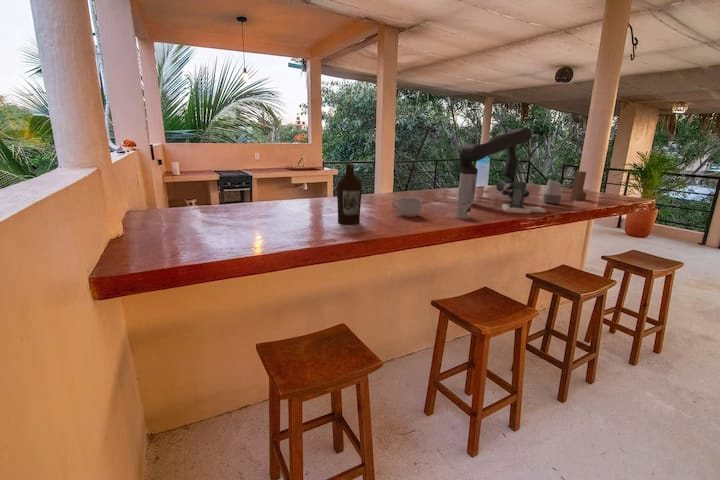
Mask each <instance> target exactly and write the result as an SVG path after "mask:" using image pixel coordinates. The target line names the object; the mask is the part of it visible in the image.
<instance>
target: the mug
mask: <svg viewBox="0 0 720 480" xmlns="http://www.w3.org/2000/svg"><path fill="white" fill-rule="evenodd" d="M471 210H472V205H471V204H469V203H457V202H456V209H455V219H461V220H470V219H471Z"/></svg>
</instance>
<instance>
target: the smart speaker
mask: <svg viewBox="0 0 720 480" xmlns="http://www.w3.org/2000/svg"><path fill="white" fill-rule="evenodd" d="M562 187H563V186H562V183H560V182H557V181H555V180H552V179H548V180H547V183H546V187H545V189H544V190H545V191H544V193H543V203H545V204H547V205H559V204H560V202H561V199H562Z"/></svg>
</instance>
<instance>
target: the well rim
mask: <svg viewBox="0 0 720 480" xmlns="http://www.w3.org/2000/svg"><path fill="white" fill-rule="evenodd" d="M526 206H527V205H524V204H523V209H521V208H510V204H507V203H505V204H504V203H503V204H502V206H501V207H502V210H505V212H506V213H514V214H515V213H517V214H518V213H519V214H520V213H521V214H531V213H532V212H531V209H529V208H528V207H526Z"/></svg>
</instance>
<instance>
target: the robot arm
mask: <svg viewBox="0 0 720 480" xmlns="http://www.w3.org/2000/svg"><path fill="white" fill-rule="evenodd" d="M532 136H533V135H532V130H531V129H530V128H528V127H516V128H512V129H511V131H510V133H503V134H497V135H496V136H493V137H491V138H489V139H488V140H487V142H485V143H482V144H481V143H480V144H478V143H477V144H475V143H466V144H463V146H462V147H461V149H460V158H459V169H460V176H459V184H458V190H457V199H456V204H457V203H469V204H471V206H473V205H474V204H475V199H476V197H475V196H476V188H477V180H478V172H479V170H478V168H477V167H475V166H474V164H473V162H479V161H480V160H483V159H484V158H486V157H488V156H492V155H494V154H498V153H501V152H503V151H505V150H507V151H506V161H505V165H504V169H503V173H502V175H503V177H505V178H507V179H508V180H505V179H500V180H498V182H497V183H496V190H497V191H498V192H500V193H501V195H503V196H505V197H506V196H507V197H508V198H510V199H511V197H512V195H513V192H512V190H513V183H514V182H516V173H517V169H518V166H519V162H518V158H517V157H518V156H517V154H516V148H517V146H518V145H522V144H526V143H528V142H529V141H530V140H531V139H532ZM529 196H530V191H529V190H525V197H524V198H529Z"/></svg>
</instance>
